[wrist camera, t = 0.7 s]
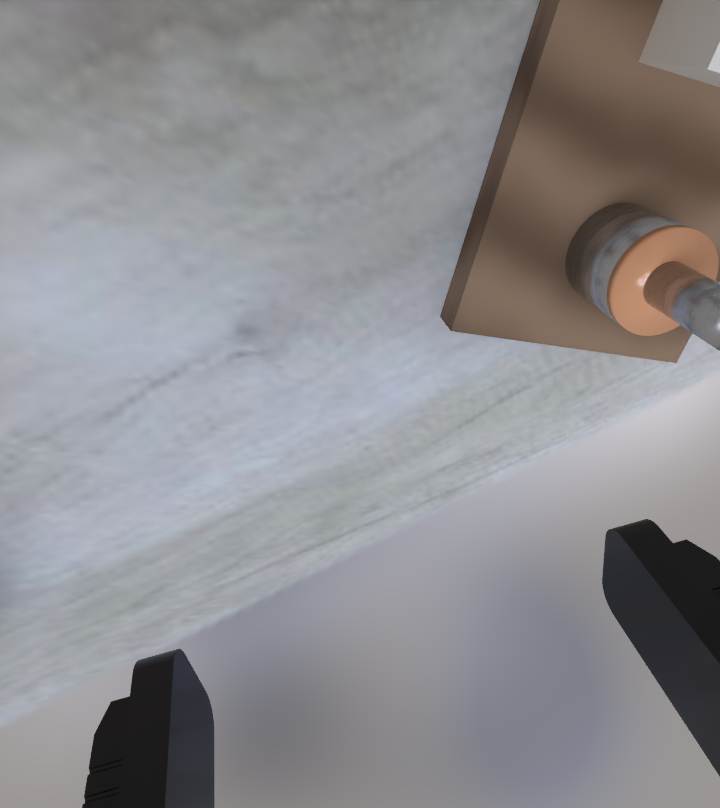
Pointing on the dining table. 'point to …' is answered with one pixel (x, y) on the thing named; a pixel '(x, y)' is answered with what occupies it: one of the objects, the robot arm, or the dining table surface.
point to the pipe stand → (597, 196)
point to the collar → (686, 40)
